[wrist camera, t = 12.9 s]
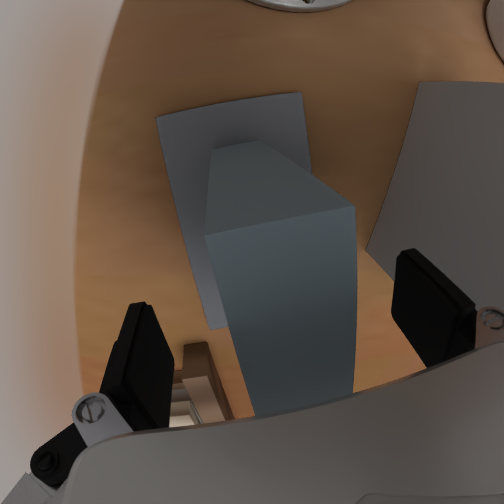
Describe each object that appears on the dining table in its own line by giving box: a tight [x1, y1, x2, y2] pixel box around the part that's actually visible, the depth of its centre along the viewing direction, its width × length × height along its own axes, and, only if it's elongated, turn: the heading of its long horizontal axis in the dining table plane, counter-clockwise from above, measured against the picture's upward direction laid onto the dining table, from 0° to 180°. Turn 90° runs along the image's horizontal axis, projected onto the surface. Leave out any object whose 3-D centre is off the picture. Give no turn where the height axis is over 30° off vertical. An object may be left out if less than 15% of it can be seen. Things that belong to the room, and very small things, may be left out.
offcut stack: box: [169, 371, 204, 427], centre depth 28 cm, size 12×4×5 cm, turn 9°
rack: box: [182, 342, 234, 424], centre depth 28 cm, size 18×8×4 cm, turn 9°
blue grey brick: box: [204, 140, 357, 416], centre depth 14 cm, size 10×3×14 cm, turn 10°
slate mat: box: [156, 92, 312, 330], centre depth 21 cm, size 16×9×1 cm, turn 9°
